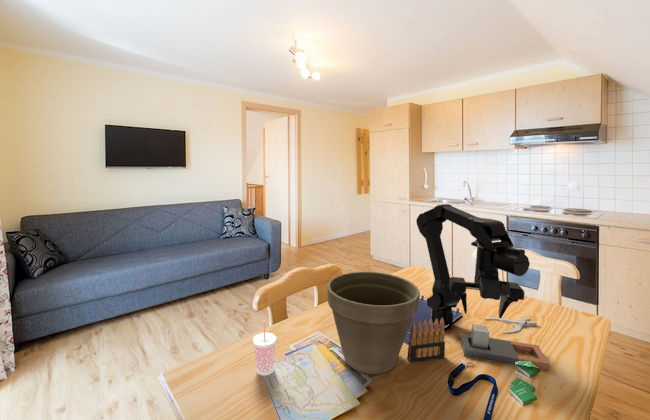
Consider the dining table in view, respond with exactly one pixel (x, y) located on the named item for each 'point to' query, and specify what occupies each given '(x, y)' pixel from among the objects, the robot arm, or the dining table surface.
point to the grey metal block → (479, 337)
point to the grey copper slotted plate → (505, 352)
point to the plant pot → (372, 317)
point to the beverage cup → (264, 352)
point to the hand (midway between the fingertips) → (482, 315)
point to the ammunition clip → (426, 342)
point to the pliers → (520, 322)
